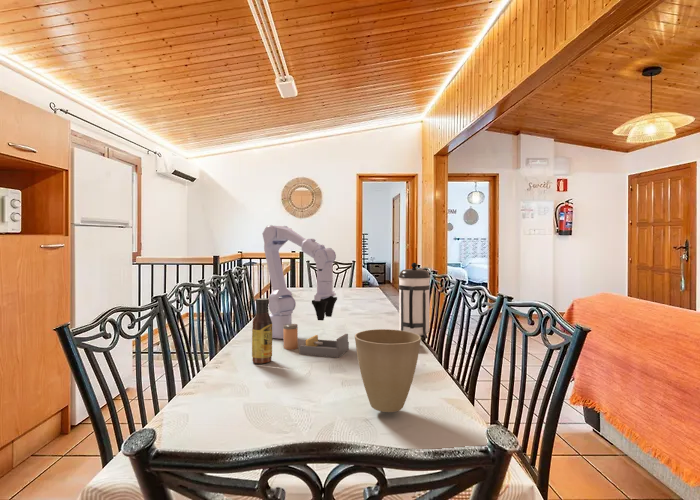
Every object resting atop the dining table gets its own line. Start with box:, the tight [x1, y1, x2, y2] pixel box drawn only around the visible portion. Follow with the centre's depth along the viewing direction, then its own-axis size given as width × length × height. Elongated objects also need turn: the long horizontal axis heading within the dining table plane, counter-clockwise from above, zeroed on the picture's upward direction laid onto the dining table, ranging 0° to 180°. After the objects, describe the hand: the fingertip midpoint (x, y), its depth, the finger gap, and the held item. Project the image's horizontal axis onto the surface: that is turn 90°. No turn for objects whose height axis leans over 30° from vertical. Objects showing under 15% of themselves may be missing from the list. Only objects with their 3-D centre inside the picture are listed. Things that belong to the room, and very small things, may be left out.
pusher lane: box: [298, 333, 350, 359], centre depth 134 cm, size 14×11×6 cm
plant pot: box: [354, 328, 422, 413], centre depth 88 cm, size 15×15×16 cm
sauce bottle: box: [251, 298, 273, 365], centre depth 123 cm, size 7×6×20 cm
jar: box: [283, 323, 299, 351], centre depth 139 cm, size 5×5×8 cm
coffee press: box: [398, 262, 431, 339], centre depth 156 cm, size 17×16×30 cm
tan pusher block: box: [305, 334, 323, 347], centre depth 135 cm, size 4×8×4 cm, turn 161°
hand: (324, 318), depth 142 cm, fingers open, 7 cm apart
